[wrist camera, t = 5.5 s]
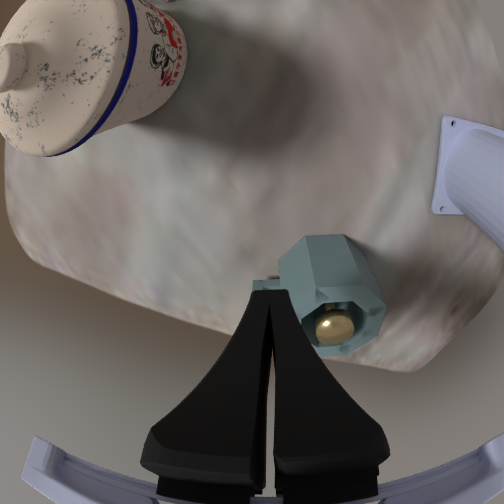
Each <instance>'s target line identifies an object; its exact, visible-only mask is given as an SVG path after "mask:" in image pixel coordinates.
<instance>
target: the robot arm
mask: <svg viewBox="0 0 504 504" xmlns="http://www.w3.org/2000/svg"><path fill="white" fill-rule="evenodd" d="M452 121H453V126H452V125H451V122H452ZM442 206H443V207H442ZM441 207H442V209H441V210H440V208H441ZM431 210H432V212H433V213H434V214H455V215H466V216H467V217H468V218H469V219H470V220H471V221H473V222H474V223H475V224H476V225H477V226H478V227H479V228H480V229H481V230H482V231H483V232H484V233H485V234H486V235H487V236H488V237H489V238H490V239H491V240H492V241H493V242H494V243H495V244H496V245H497V246H498V247H499V248H500V249H501V250H502V252H503V253H504V131H503V130H500V129H496V128H493V127H490V126H486V125H483V124H479V123H475V122H471V121H467V120H463V119H459V118H455V117H450V116H444V117H443V118H442V121H441V136H440V149H439V158H438V167H437V175H436V182H435V188H434V194H433V200H432V206H431ZM272 348H273V357H274V367H275V421H274V422H275V423H274V449H273V456H274V464H275V488H276V497H255V494H262V490H263V488H265V486H266V425H267V424H266V423H267V419H266V418H267V394H268V385H269V376H270V367H271V357H272ZM389 456H390V448H389V445H388V441H387V439H386V436H385V434H384V431H383V429H382V427H381V426H380V425H379V424H378V423H377V422H376V421H375V420H374V419H372V418H371V417H370V416H369V415H368V414H367V413H366V412H365V411H364V410H363V409H362V408H361V407H360V406H359V405H358V404H357V403H356V402H355V401H354V400H353V399H352V398H351V397H350V396H349V395H348V393H347V392H346V391H345V390H344V389H343V387H342V386H341V385H340V384H339V383H338V382H337V380H336V379H335V378H334V377H333V375H332V374H331V373H330V371H329V370H328V369H327V367H326V366H325V364H324V363H323V362H322V360H321V359H320V357H319V356H318V354H317V352H316V351H315V349H314V348H313V346H312V344H311V343H310V341H309V339H308V337H307V335H306V334H305V332H304V330H303V328H302V326H301V324H300V322H299V320H298V317H297V315H296V313H295V310H294V308H293V305H292V302H291V299H290V296H289V291H288V290H287V289H273V290H254V291H253V292H252V293H251V297H250V300H249V303H248V305H247V308H246V310H245V312H244V315H243V317H242V319H241V321H240V323H239V325H238V327H237V329H236V331H235V333H234V334H233V336H232V338H231V340H230V341H229V343H228V345H227V346H226V348H225V349H224V351H223V353H222V354H221V356H220V357H219V358H218V360H217V361H216V363H215V364H214V365H213V367H212V368H211V369H210V371H209V372H208V373H207V374H206V376H205V377H204V378H203V379H202V380H201V382H200V383H199V384H198V385H197V386H196V387H195V388H194V390H193V391H192V392H191V393H190V394H189V395H188V396H187V397H186V398H185V399H184V400H183V401H182V402H181V403H180V404H179V405H178V406H177V407H175V408H174V409H173V410H172V411H171V412H170V413H168V414H167V415H166V416H165V417H164V418H162V419H161V420H160V421H159V422H157V423H156V424H155V425H154V426H152V427H151V429H150V431H149V434H148V436H147V439H146V441H145V444H144V448H143V452H142V456H141V461H140V464H141V465H142V467H144V468H145V469H147V470H149V471H151V472H153V473H155V474H157V475H158V476H159V480H158V484H155V483H151V482H147V481H143V480H139V479H136V478H132V477H129V476H126V475H122V474H119V473H116V472H113V471H110V470H107V469H104V468H102V467H99V466H97V465H94V464H91V463H89V462H86V461H84V460H81V459H79V458H77V457H74V456H72V455H70V454H68V453H66V452H65V451H64V450H62V449H60V448H59V447H57V446H55V445H53V444H52V443H50V442H48V441H46V440H44V439H42V438H40V437H38V436H35V437H34V439H33V442H32V445H31V448H30V451H29V454H28V457H27V460H26V463H25V467H24V470H23V473H22V477H21V478H22V480H23V481H25V482H26V483H28V484H29V485H30V486H32V487H33V488H35V489H36V490H37V491H39V492H40V493H42V494H43V495H45V496H46V497H47V498H49V499H50V500H52V501H53V502H55V503H56V504H159V502H158V501H157V500H156V499H158V500H162V501H166V502H171V503H175V504H364V503H369V502H373V501H378V500H381V501H380V502H379V503H378V504H485V503H486V502H488V501H489V500H490V499H492V498H493V497H495V496H496V495H498V494H499V493H500V492H502V491H503V490H504V432H503V433H502V434H500V435H498V436H496V437H495V438H493V439H491V440H490V441H488V442H486V443H485V444H483V445H482V446H480V447H479V448H478V449H476V450H474V451H472V452H470V453H468V454H466V455H464V456H461V457H459V458H457V459H455V460H452V461H450V462H447V463H445V464H442V465H440V466H437V467H435V468H432V469H429V470H427V471H424V472H421V473H418V474H415V475H412V476H409V477H405V478H401V479H398V480H394V481H391V482H387V483H383V484H379V485H378V483H377V476H378V475H379V467H378V465H379V464H381V463H382V462H384V461H385V460H386V459H387V458H388V457H389ZM382 499H383V500H382Z"/></svg>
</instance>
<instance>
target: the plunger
mask: <svg viewBox="0 0 504 504" xmlns="http://www.w3.org/2000/svg"><path fill="white" fill-rule="evenodd" d="M325 308H326V311H325V312H323V313H322V314H320V315H319V316H318V317H317V319H316V321H315V330H316V337H317V339H318V340H319V341H320V342H321V343H324V344H328V345H334V344H339V343H342V342H344V341H346V340H347V339H349V338H350V337H351V336H352V334H353V333H354V325H353V321H352V318H351V315H350V313H349V312H348V311H346V310H343V309H335V305H334V302H332V303H325Z"/></svg>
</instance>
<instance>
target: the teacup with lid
mask: <svg viewBox="0 0 504 504" xmlns="http://www.w3.org/2000/svg"><path fill="white" fill-rule="evenodd" d="M187 54H188V52H187V43H186V39H185V36H184V33H183V31H182V29H181V28H180V26H179V25H178V24H177V22H176V21H175V20H174V19H173V18H171V17H170V16H169V15H167V14H166V13H164V12H163V11H161V10H159V9H158V8H156V7H154V6H152V5H151V4H149V3H147V2H146V1H144V0H27V1H26V2H25V3H24V4H23V5H22V6H21V7H20V9H19V10H18V11H17V12H16V13H15V15H14V16H13V18H12V19H11V20H10V22H9V24H8V25H7V27H6V29H5V31H4V32H3V34H2V36H1V38H0V132H1V134H2V135H3V137H4V138H5V139H6V140H7V141H8V142H9V143H10V144H11V145H12V146H13V147H14V148H16V149H17V150H19V151H21V152H23V153H25V154H28V155H32V156H38V157H52V156H58V155H61V154H65V153H67V152H69V151H72V150H73V149H75V148H77V147H79V146H80V145H82V144H83V143H84V142H86V141H87V140H88V139H89V138H90V137H92V136H94V135H96V134H99V133H101V132H104V131H106V130H109V129H112V128H114V127H117V126H120V125H123V124H125V123H128V122H131V121H134V120H137V119H140V118H143V117H145V116H147V115H149V114H151V113H152V112H154V111H156V110H157V109H158V108H160V107H161V106H162V105H163V104H164V103H165V102H166V101H167V100H168V99H169V98H170V97H171V96H172V95H173V93H174V92H175V90H176V89H177V87H178V85H179V84H180V82H181V80H182V77H183V75H184V72H185V68H186V64H187Z"/></svg>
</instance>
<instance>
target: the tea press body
mask: <svg viewBox="0 0 504 504" xmlns="http://www.w3.org/2000/svg"><path fill="white" fill-rule="evenodd" d="M279 277H280V279H271V280H253V287H252V292H253V291H254V290H273V289H287V290H288V291H289V296H290V299H291V302H292V305H293V308H294V310H295V313H296V315H297V317H298V320H299V322H300V324H301V326H302V328H303V330H304V332H305V334H306V335H307V337H308V339H309V341H310V343H311V344H312V346H313V348H314V349H315V351H316V352H317V354H318V356H319V357H328V356H338V355H347V354H349V353H351V352H352V351H354V350H355V349H357V348H359V347H360V346H362V345H363V344H365V343H367V342H368V341H370V340H371V339H373V338H374V337H376V336H377V335H378V334H379V331H380V328H381V325H382V322H383V319H384V316H385V313H386V310H387V304H386V301H385V299H384V297H383V294H382V292H381V290H380V287H379V285H378V283H377V280H376V278H375V276H374V274H373V272H372V269H371V267H370V265H369V263H368V261H367V259H366V257H365V255H364V254H363V253H362V252H361V251H360V250H359V249H358V248H357V247H356V246H355V245H354V244H353V243H352V242H351V241H349V240H348V239H347V238H346V237H345V236H344V235H343V234H340V235H317V236H305V237H304V238H303V239H301V240H300V241H299V242H298V243H297V244H296V245H295V246H294V247H293V248H292V249H290V250H289V251H288V252H287V253H286V254H285V255H284V256H283V257H282V258H281V259H279ZM332 302H334V305H335V309H343V310H346V311H348V312H349V313H350V315H351V318H352V321H353V325H354V333H353V334H352V336H351V337H350V338H349V339H347V340H346V341H344V342H342V343H339V344H334V345H328V344H324V343H321V342H320V341H319V340H318V339H317V337H316V330H315V321H316V319H317V317H318V316H319V315H320V314H322V313H323V312H325V311H326V308H325V303H332Z"/></svg>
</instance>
